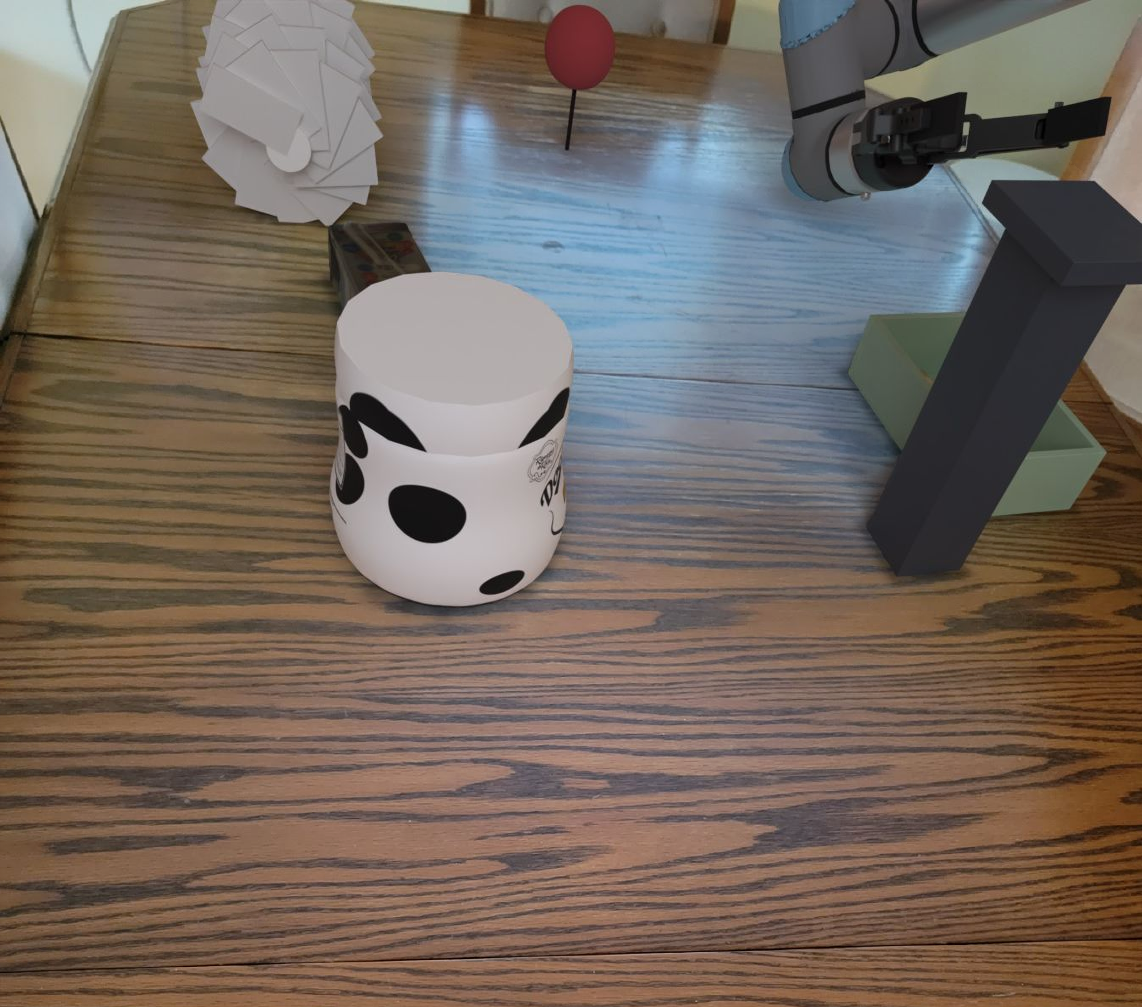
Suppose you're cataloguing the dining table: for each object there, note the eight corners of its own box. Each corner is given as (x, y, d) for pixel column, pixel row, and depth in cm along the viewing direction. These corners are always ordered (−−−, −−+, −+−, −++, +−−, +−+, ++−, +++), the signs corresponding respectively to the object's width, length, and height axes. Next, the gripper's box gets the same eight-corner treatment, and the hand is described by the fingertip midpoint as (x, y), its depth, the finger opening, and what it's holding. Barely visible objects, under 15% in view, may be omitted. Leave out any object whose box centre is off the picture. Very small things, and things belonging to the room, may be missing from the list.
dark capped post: (978, 592, 85) (1183, 260, 62) (893, 601, 83) (1073, 262, 60) (924, 511, 90) (1094, 180, 68) (843, 518, 88) (991, 179, 66)
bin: (845, 378, 101) (870, 314, 96) (955, 373, 104) (985, 310, 99) (945, 525, 89) (980, 461, 84) (1066, 514, 93) (1107, 452, 87)
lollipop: (576, 177, 119) (595, 27, 107) (522, 153, 121) (535, 3, 109) (610, 157, 123) (632, 10, 111) (558, 134, 125) (574, -12, 113)
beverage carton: (408, 278, 102) (409, 211, 96) (465, 394, 92) (468, 326, 86) (328, 284, 99) (324, 215, 94) (377, 403, 89) (375, 334, 84)
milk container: (603, 562, 81) (645, 355, 67) (435, 665, 72) (443, 454, 58) (457, 449, 87) (467, 237, 73) (286, 532, 78) (260, 311, 64)
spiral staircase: (335, 174, 120) (344, 278, 105) (181, 91, 111) (166, 192, 96) (401, 12, 109) (422, 102, 94) (236, -94, 100) (229, -13, 85)
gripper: (988, 192, 105) (1151, 169, 86) (767, 191, 98) (891, 167, 80) (999, 105, 102) (1171, 63, 83) (772, 99, 95) (902, 51, 77)
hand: (1034, 114), depth 81 cm, fingers open, 13 cm apart
